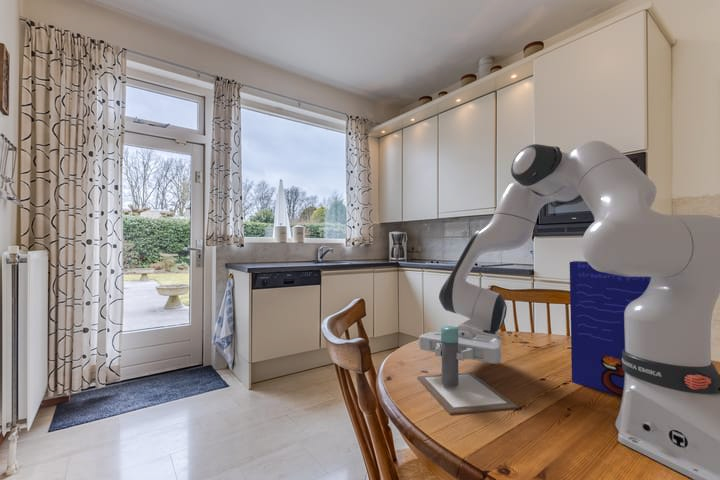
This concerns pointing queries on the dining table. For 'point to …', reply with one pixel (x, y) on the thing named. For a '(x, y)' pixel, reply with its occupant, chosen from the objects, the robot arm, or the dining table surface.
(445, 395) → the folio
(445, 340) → the marker
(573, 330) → the cereal box
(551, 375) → the dining table surface
